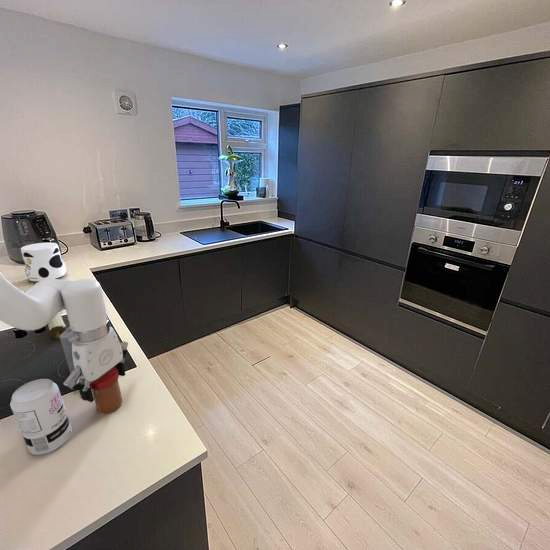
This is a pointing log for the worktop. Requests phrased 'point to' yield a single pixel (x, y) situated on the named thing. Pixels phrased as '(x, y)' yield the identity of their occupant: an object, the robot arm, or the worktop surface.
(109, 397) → the jam jar
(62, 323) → the rolling pin
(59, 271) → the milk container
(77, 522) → the worktop surface
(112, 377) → the jam lid
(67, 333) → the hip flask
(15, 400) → the supplement can
